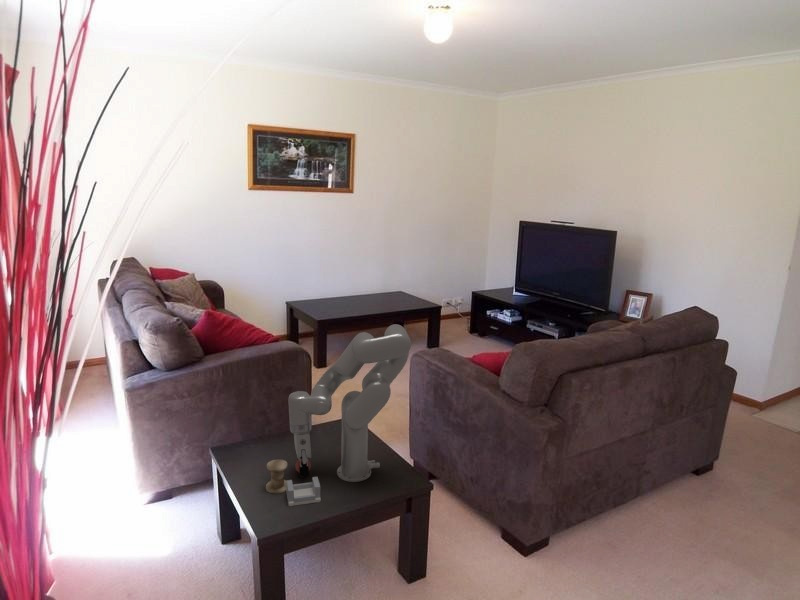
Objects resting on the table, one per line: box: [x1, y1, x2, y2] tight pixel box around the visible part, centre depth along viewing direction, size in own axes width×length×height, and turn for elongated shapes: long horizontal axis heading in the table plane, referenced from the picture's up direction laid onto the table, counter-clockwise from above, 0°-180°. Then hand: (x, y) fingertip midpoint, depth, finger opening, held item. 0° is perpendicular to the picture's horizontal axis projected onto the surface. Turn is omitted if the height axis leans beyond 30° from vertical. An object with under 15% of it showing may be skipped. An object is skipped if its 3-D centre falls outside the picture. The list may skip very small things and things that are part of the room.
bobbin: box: [265, 458, 288, 495], centre depth 189 cm, size 8×8×9 cm
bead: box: [294, 458, 312, 474], centre depth 197 cm, size 6×6×6 cm
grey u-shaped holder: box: [285, 476, 322, 507], centre depth 184 cm, size 11×9×5 cm
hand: (303, 471), depth 197 cm, fingers closed on bead, 5 cm apart
